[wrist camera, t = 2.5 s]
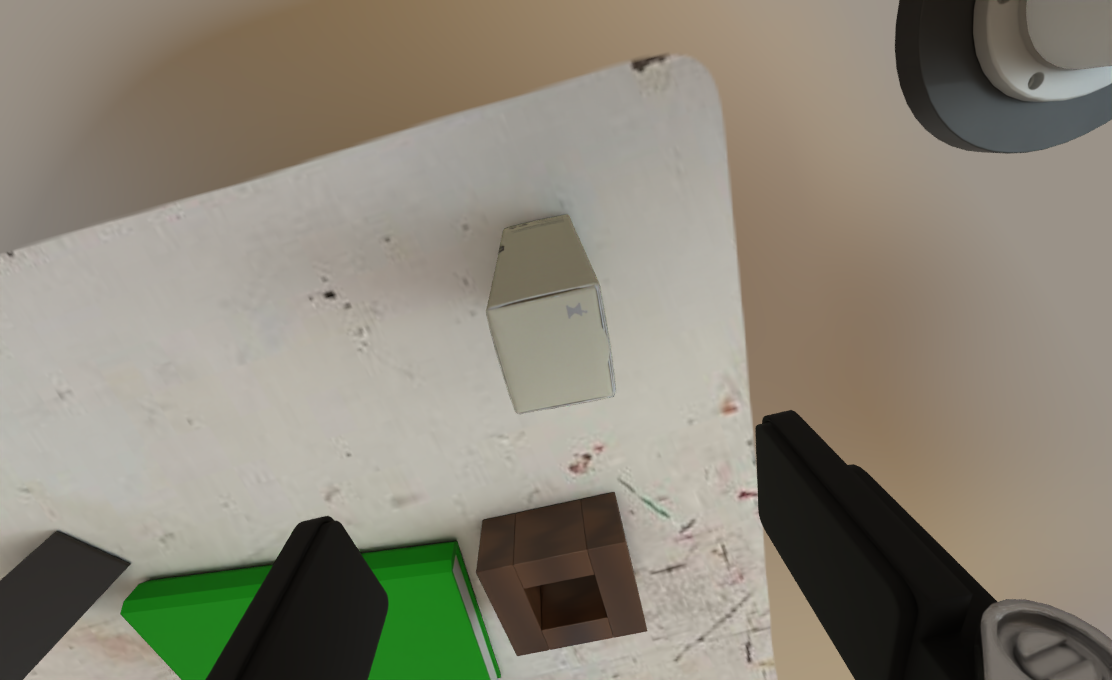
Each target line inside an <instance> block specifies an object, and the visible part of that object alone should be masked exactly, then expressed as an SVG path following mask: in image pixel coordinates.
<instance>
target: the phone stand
mask: <svg viewBox="0 0 1112 680" xmlns="http://www.w3.org/2000/svg"><path fill="white" fill-rule="evenodd" d="M129 565H130V563H127V562H125V561H123V560H121V559H118V558H116V557H114V556H112V555H109V554H107V553H105V552H103V551H100V550H98V549H96V548H94V547H91V546H89V545H87V544H85V543H82V542H80V541H78V540H76V539H73V538H71V537H69V536H67V535H64V534H62V533H60V532H58V531H56V532H55V533H53V534H52V535H51V536H50V537H49V538H48V539H47V540H45V541H44V542H43V543H42V544H41V545H40V546H39V547H38V548H36V549H35V550H34V551H33V552H32V553H31V554H30V555H29V556H27V557H26V558H25V559H24V560H23V561H22V562H21V563H20V564H18V565H17V566H16V567H15V568H14V569H13V570H12V571H11V572H9V573H8V574H7V575H6V576H5V577H4V578H3V579H2V580H0V680H23V679H24V678H25V677H26V676H27V675H28V673H29V672H30V671H31V670H32V669H33V668H34V667H35V666H36V665H37V664H38V663H39V662H40V661H41V659H42V658H43V657H44V656H45V655H46V654H47V653H48V652H49V651H50V650H51V649H52V648H53V647H54V646H55V644H56V643H57V642H58V641H59V640H60V639H61V638H62V637H63V636H64V635H65V634H66V633H67V632H68V631H69V629H70V628H71V627H72V626H73V625H74V624H75V623H76V622H77V621H78V620H79V619H80V618H81V617H82V615H83V614H84V613H85V612H86V611H87V610H88V609H89V608H90V607H91V606H92V605H93V604H94V603H95V602H96V600H97V599H98V598H99V597H100V596H101V595H102V594H103V593H104V592H105V591H106V590H107V589H108V588H109V587H110V585H111V584H112V583H113V582H114V581H115V580H116V579H117V578H118V577H119V576H120V575H121V574H122V573H123V571H124V570H125V569H126V568H127V567H128V566H129Z"/></svg>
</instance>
